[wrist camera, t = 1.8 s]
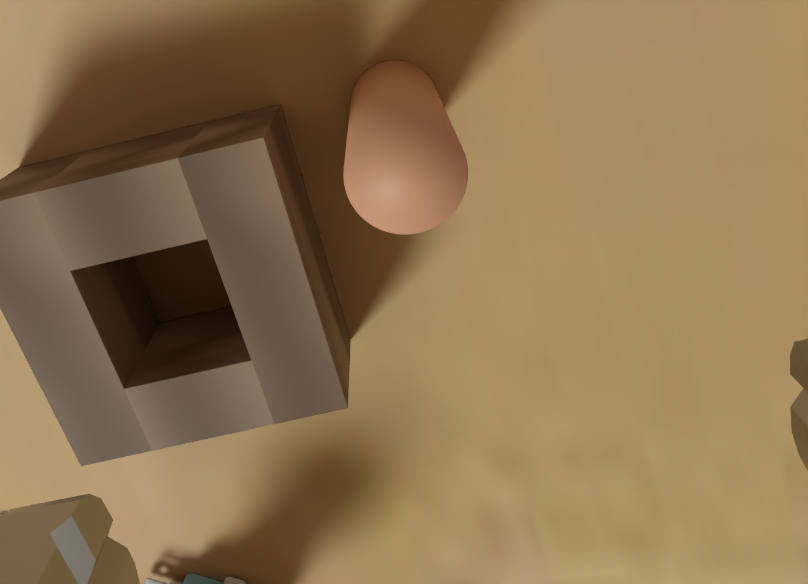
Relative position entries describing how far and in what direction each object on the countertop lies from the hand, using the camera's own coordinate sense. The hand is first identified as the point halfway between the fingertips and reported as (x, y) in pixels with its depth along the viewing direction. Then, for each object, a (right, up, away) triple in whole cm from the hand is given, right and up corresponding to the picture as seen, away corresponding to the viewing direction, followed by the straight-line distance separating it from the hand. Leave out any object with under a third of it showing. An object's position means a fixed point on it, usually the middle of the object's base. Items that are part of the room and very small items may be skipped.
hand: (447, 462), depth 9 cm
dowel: (-1, +9, +19) cm, 21 cm away
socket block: (-9, +3, +21) cm, 23 cm away
